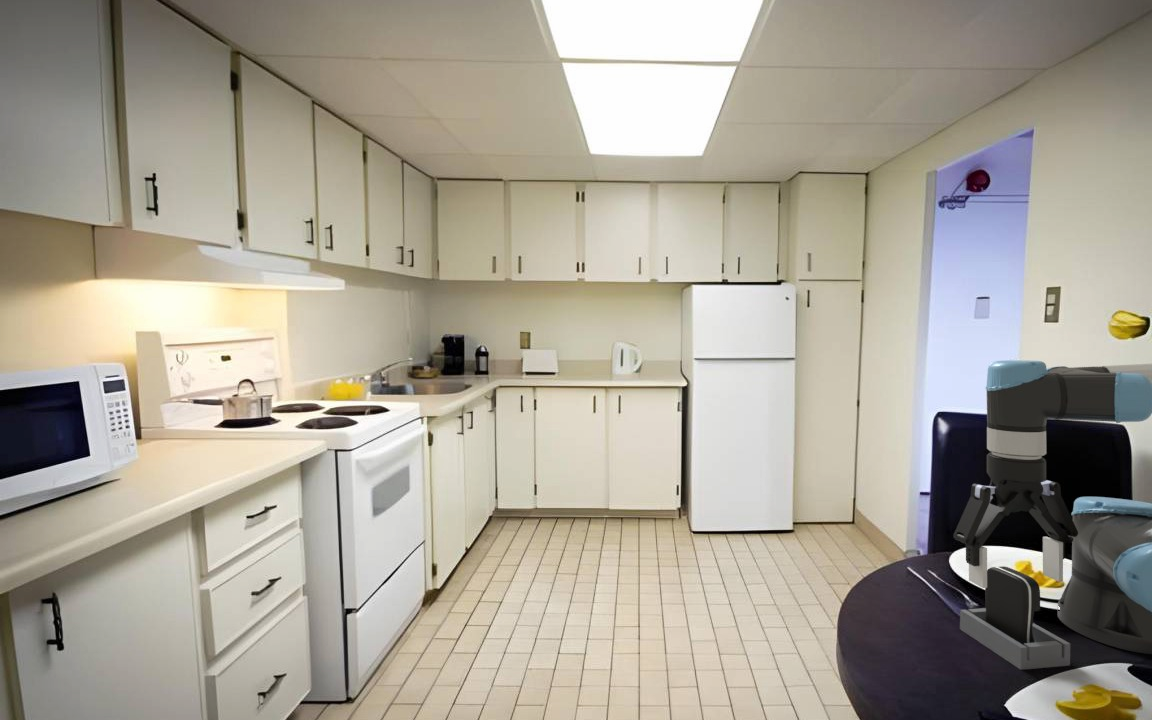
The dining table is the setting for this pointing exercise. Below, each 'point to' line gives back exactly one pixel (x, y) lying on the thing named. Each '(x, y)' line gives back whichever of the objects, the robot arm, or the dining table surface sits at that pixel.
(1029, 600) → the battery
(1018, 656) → the tray
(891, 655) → the dining table surface
